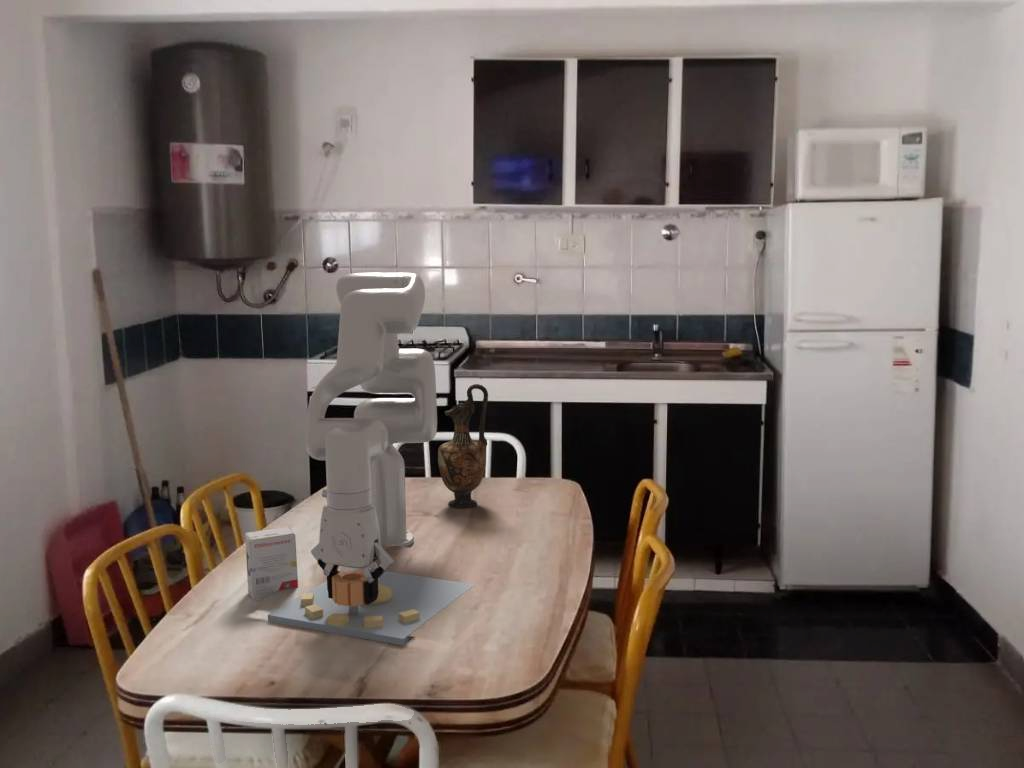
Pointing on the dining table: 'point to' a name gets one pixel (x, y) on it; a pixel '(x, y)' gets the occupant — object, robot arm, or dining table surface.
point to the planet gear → (348, 588)
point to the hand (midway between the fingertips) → (352, 598)
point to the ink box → (271, 561)
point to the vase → (464, 452)
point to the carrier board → (374, 608)
